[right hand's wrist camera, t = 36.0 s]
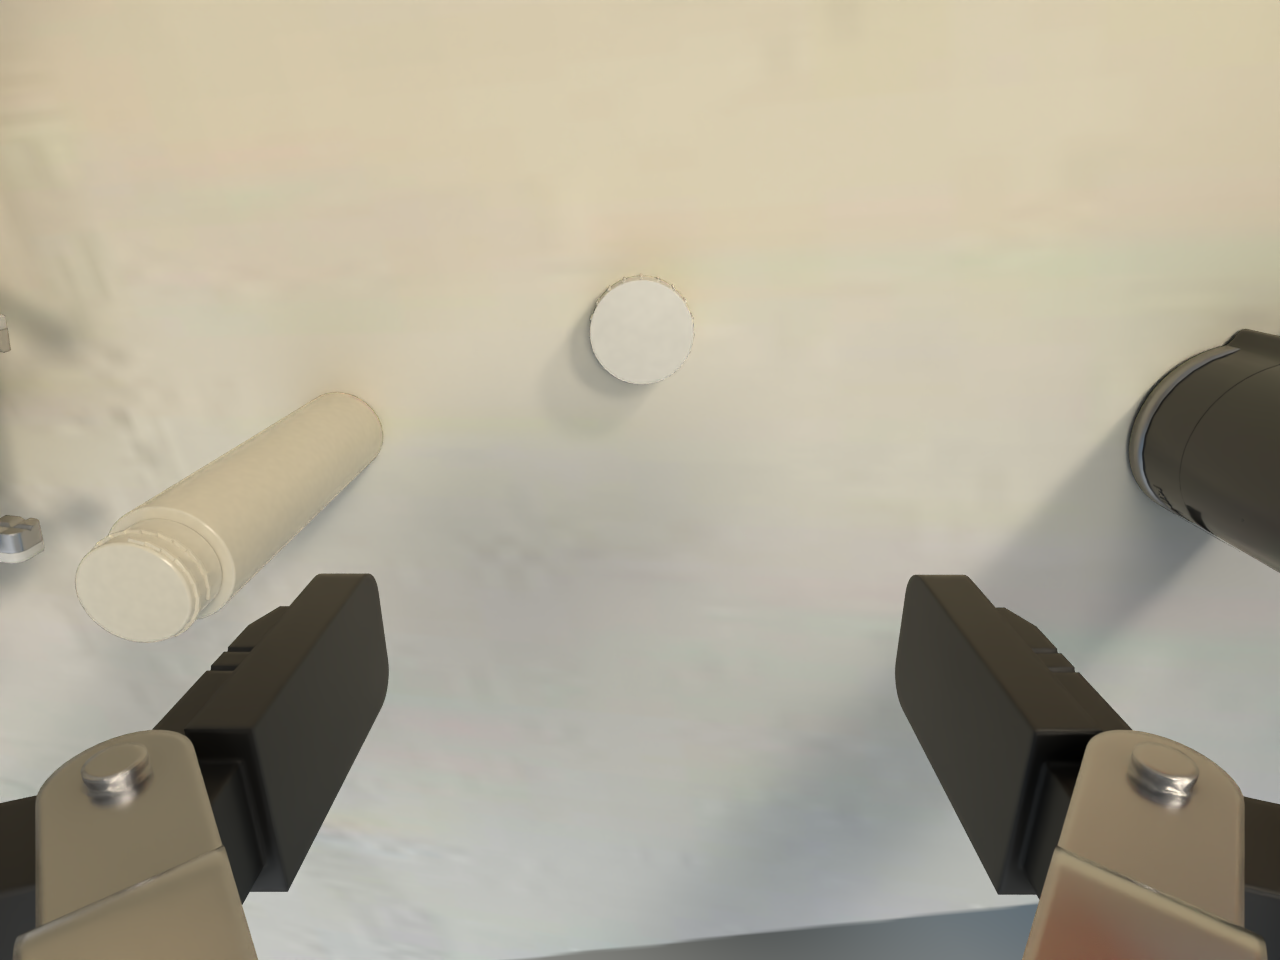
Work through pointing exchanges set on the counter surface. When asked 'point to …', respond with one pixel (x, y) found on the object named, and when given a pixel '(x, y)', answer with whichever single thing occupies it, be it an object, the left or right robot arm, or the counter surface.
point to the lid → (641, 330)
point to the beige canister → (224, 521)
